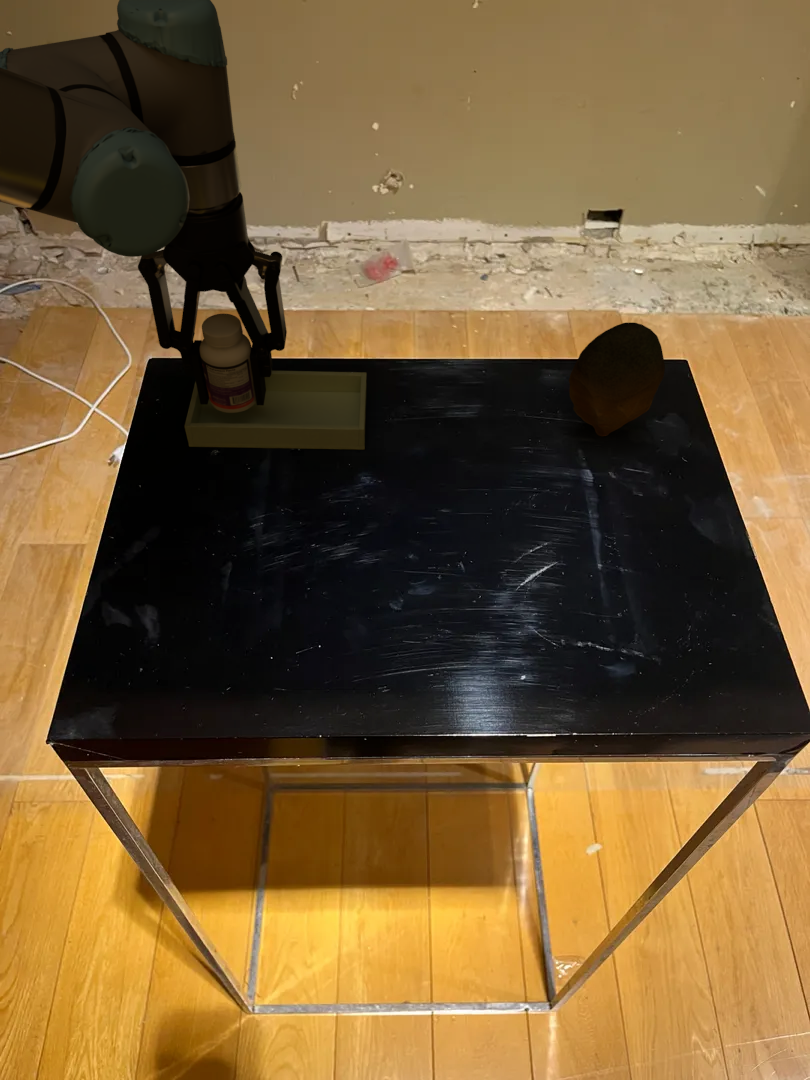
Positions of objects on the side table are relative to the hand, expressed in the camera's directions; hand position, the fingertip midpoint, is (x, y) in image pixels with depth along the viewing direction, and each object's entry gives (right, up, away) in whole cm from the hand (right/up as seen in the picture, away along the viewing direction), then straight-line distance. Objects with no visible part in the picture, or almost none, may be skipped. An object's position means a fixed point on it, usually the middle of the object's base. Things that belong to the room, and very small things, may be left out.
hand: (233, 396), depth 91 cm
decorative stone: (+41, -4, +2) cm, 41 cm away
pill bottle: (0, 0, 0) cm, 1 cm away
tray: (+5, -2, +3) cm, 6 cm away
